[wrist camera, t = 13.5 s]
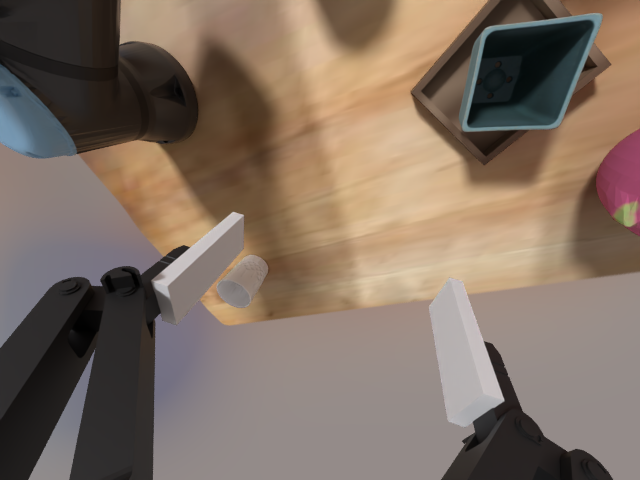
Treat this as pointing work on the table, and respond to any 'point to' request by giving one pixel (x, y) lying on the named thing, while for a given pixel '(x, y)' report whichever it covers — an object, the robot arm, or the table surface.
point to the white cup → (243, 281)
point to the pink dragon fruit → (622, 182)
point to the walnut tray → (452, 67)
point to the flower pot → (526, 73)
